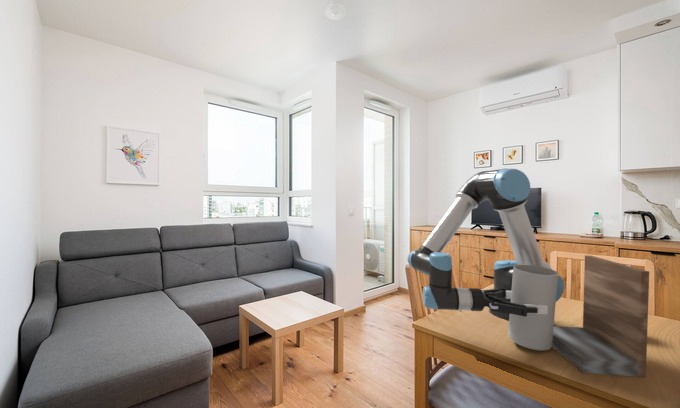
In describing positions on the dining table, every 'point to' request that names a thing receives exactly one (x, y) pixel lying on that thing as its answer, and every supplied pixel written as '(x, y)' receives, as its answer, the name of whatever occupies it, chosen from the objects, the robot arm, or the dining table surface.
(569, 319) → the dining table surface
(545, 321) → the cylinder vase
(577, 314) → the dining table surface
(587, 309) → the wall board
